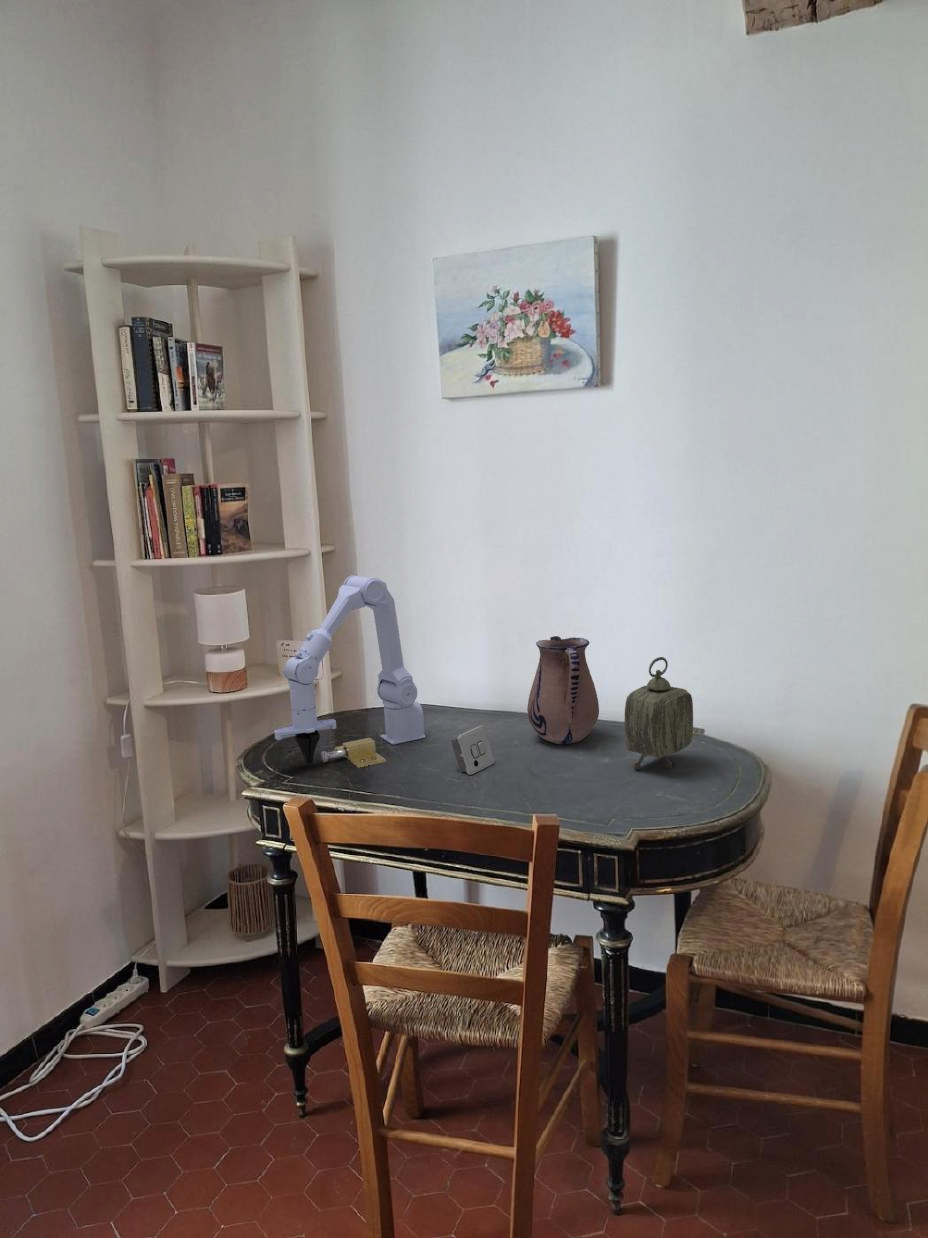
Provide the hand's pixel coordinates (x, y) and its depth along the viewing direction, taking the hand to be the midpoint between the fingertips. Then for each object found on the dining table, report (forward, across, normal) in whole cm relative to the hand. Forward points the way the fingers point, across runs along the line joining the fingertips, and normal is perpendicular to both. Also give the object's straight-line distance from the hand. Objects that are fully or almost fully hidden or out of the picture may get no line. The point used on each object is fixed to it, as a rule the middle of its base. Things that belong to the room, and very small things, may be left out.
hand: (308, 762), depth 217 cm
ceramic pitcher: (+1, +59, -21) cm, 63 cm away
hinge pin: (+1, +8, 0) cm, 8 cm away
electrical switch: (+1, +31, -24) cm, 40 cm away
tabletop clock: (+1, +66, -48) cm, 82 cm away
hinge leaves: (+1, +13, 0) cm, 13 cm away
